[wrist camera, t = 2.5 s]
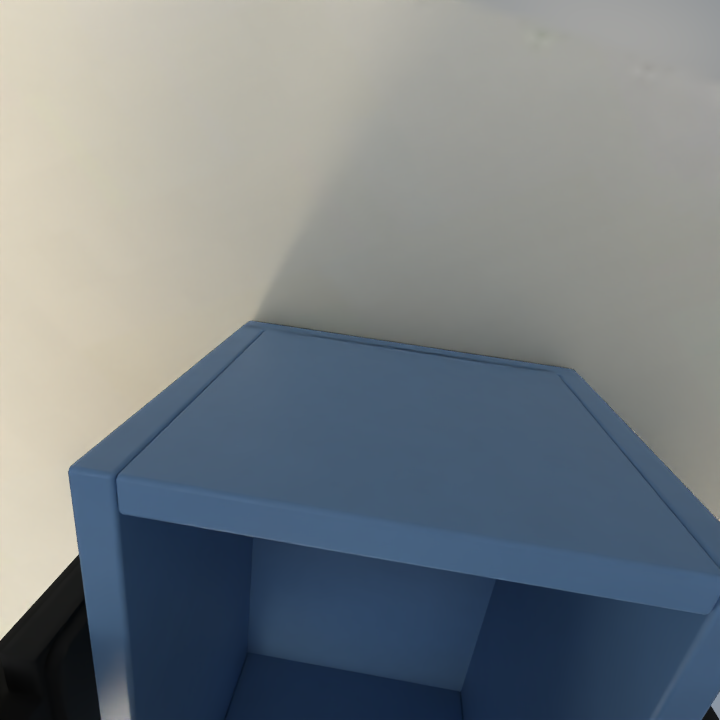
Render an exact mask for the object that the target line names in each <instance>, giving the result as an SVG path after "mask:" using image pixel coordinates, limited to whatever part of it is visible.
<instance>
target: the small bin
mask: <svg viewBox="0 0 720 720" xmlns="http://www.w3.org/2000/svg"><path fill="white" fill-rule="evenodd" d="M68 474H69V482H70V489H71V497H72V504H73V512H74V519H75V527H76V535H77V542H78V550H79V557H80V565H81V572H82V580H83V588H84V595H85V603H86V610H87V618H88V625H89V633H90V640H91V648H92V656H93V663H94V671H95V678H96V686H97V693H98V701H99V709H100V716H101V720H702V719H703V717H704V715H705V714H706V712H707V711H708V709H709V707H710V706H711V704H712V703H713V701H714V700H715V698H716V696H717V695H718V693H719V692H720V522H719V521H718V520H717V519H716V518H715V517H714V516H713V514H712V513H711V512H710V511H709V510H708V509H707V508H706V507H705V506H704V505H703V504H702V503H701V502H700V501H699V500H698V499H697V498H696V497H695V496H694V495H693V494H692V492H691V491H690V490H689V489H688V488H687V487H686V486H685V485H684V484H683V483H682V482H681V481H680V480H679V479H678V478H677V477H676V476H675V475H674V474H673V473H672V472H671V470H670V469H669V468H668V467H667V466H666V465H665V464H664V463H663V462H662V461H661V460H660V459H659V458H658V457H657V456H656V455H655V454H654V453H653V452H652V451H651V449H650V448H649V447H648V446H647V445H646V444H645V443H644V442H643V441H642V440H641V439H640V438H639V437H638V436H637V435H636V434H635V433H634V432H633V431H632V430H631V429H630V427H629V426H628V425H627V424H626V423H625V422H624V421H623V420H622V419H621V418H620V417H619V416H618V415H617V414H616V413H615V412H614V411H613V410H612V409H611V408H610V407H609V405H608V404H607V403H606V402H605V401H604V400H603V399H602V398H601V397H600V396H599V395H598V394H597V393H596V392H595V391H594V390H593V389H592V388H591V387H590V386H589V384H588V383H587V382H586V381H585V380H584V379H583V378H582V377H581V376H580V375H579V374H578V373H577V372H576V371H575V370H573V369H569V368H562V367H555V366H549V365H542V364H536V363H529V362H522V361H516V360H509V359H502V358H496V357H489V356H482V355H476V354H469V353H462V352H456V351H449V350H442V349H436V348H429V347H423V346H416V345H409V344H403V343H396V342H389V341H383V340H376V339H369V338H363V337H356V336H349V335H343V334H336V333H329V332H323V331H316V330H310V329H303V328H296V327H290V326H283V325H276V324H270V323H263V322H256V321H249V322H247V323H246V324H245V325H243V326H242V327H241V328H240V329H238V330H237V331H236V332H235V333H233V334H232V335H231V336H230V337H228V338H227V339H226V340H225V341H224V342H222V343H221V344H220V345H219V346H217V347H216V348H215V349H214V350H213V351H211V352H210V353H209V354H208V355H206V356H205V357H204V358H203V359H201V360H200V361H199V362H198V363H197V364H195V365H194V366H193V367H192V368H190V369H189V370H188V371H187V372H186V373H184V374H183V375H182V376H181V377H179V378H178V379H177V380H176V381H174V382H173V383H172V384H171V385H170V386H168V387H167V388H166V389H165V390H163V391H162V392H161V393H160V394H158V395H157V396H156V397H155V398H154V399H152V400H151V401H150V402H149V403H147V404H146V405H145V406H144V407H143V408H141V409H140V410H139V411H138V412H136V413H135V414H134V415H133V416H131V417H130V418H129V419H128V420H127V421H125V422H124V423H123V424H122V425H120V426H119V427H118V428H117V429H116V430H114V431H113V432H112V433H111V434H109V435H108V436H107V437H106V438H104V439H103V440H102V441H101V442H100V443H98V444H97V445H96V446H95V447H93V448H92V449H91V450H90V451H88V452H87V453H86V454H85V455H84V456H82V457H81V458H80V459H79V460H77V461H76V462H75V463H74V464H73V465H71V466H70V468H69V471H68Z"/></svg>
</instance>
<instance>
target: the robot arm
mask: <svg viewBox="0 0 720 720" xmlns="http://www.w3.org/2000/svg"><path fill="white" fill-rule="evenodd" d="M0 720H101V716H100V709H99V701H98V693H97V686H96V678H95V671H94V663H93V656H92V648H91V640H90V633H89V625H88V618H87V610H86V603H85V595H84V588H83V580H82V572H81V565H80V557H79V555H78V556H77V557H76V558H75V559H74V560H73V561H72V562H71V564H70V565H69V566H68V567H67V568H66V569H65V570H64V571H63V572H62V573H61V575H60V576H59V577H58V578H57V579H56V580H55V581H54V582H53V583H52V584H51V586H50V587H49V588H48V589H47V590H46V591H45V592H44V593H43V594H42V595H41V597H40V598H39V599H38V600H37V601H36V602H35V603H34V604H33V605H32V606H31V608H30V609H29V610H28V611H27V612H26V613H25V614H24V615H23V616H22V617H21V619H20V620H19V621H18V622H17V623H16V624H15V625H14V626H13V627H12V629H11V630H10V631H9V632H8V633H7V634H6V635H5V636H4V637H3V638H2V640H1V641H0ZM702 720H719V718H718V717H717V715H716V713H715V712H714V710H713V708H712V707H711V706H710V707H709V709H708V711H707V712H706V714H705V715H704V717H703V719H702Z"/></svg>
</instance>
